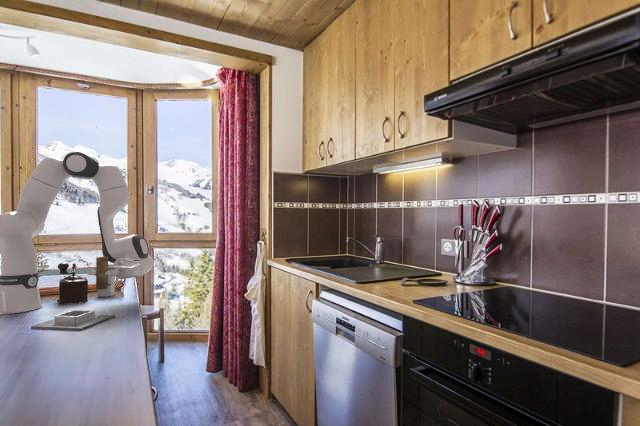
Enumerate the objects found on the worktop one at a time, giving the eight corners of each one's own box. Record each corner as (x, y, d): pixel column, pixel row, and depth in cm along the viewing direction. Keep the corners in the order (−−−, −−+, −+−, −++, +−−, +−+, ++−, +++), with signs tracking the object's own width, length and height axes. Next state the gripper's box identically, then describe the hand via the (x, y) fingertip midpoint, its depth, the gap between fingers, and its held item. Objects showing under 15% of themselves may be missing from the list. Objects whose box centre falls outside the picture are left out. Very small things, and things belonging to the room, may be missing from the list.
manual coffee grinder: (56, 300, 160) (57, 259, 161) (86, 297, 167) (86, 258, 167) (57, 307, 148) (57, 263, 148) (89, 303, 154) (89, 261, 155)
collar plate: (31, 328, 119) (31, 318, 119) (70, 315, 135) (70, 306, 135) (80, 330, 117) (80, 320, 117) (115, 317, 133) (115, 308, 133)
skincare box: (96, 296, 168) (97, 270, 168) (101, 294, 172) (101, 269, 172) (111, 296, 169) (111, 270, 169) (115, 294, 173) (115, 268, 173)
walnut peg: (93, 289, 137) (93, 257, 138) (101, 287, 141) (101, 256, 142) (103, 289, 137) (103, 257, 137) (110, 287, 141) (110, 256, 141)
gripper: (102, 260, 153) (75, 264, 140) (147, 261, 151) (125, 265, 137) (101, 275, 153) (75, 280, 140) (146, 276, 151) (124, 282, 137)
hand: (100, 273), depth 138 cm, fingers closed on walnut peg, 4 cm apart
